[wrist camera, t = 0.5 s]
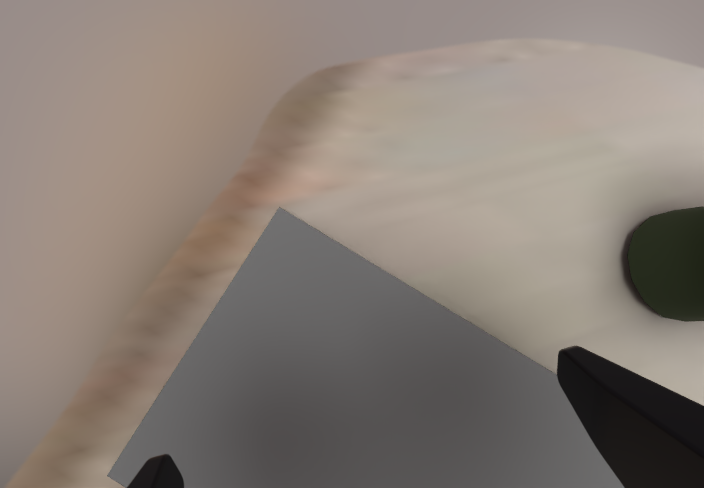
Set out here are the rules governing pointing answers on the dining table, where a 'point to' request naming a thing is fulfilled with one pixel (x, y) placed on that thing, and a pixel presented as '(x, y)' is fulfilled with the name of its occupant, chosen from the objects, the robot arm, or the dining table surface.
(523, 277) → the dining table surface
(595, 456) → the placemat
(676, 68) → the dining table surface
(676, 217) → the character mug
